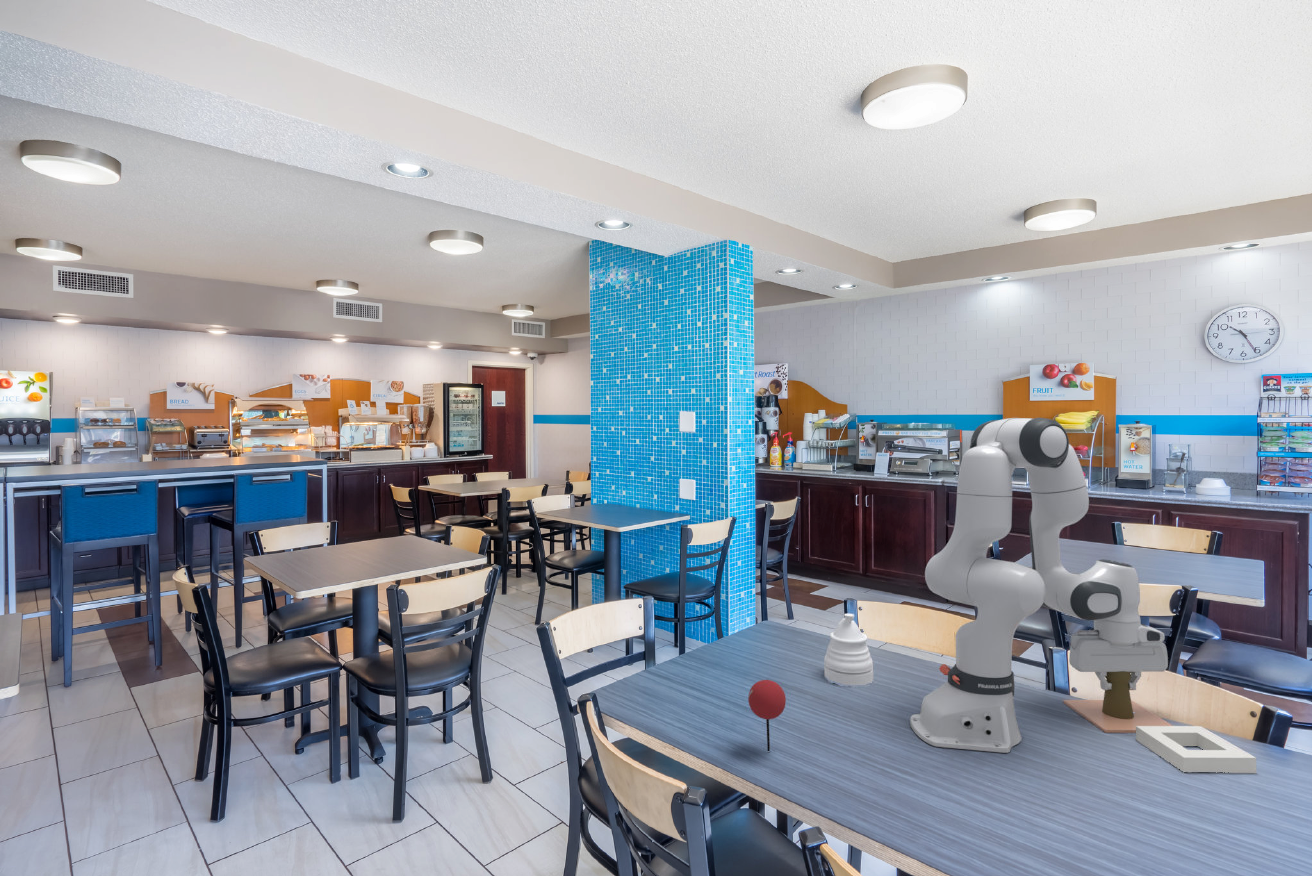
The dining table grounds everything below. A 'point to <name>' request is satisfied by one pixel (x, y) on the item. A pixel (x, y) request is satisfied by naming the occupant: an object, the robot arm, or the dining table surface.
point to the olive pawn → (1118, 696)
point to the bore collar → (1211, 759)
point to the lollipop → (767, 701)
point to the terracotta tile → (1110, 724)
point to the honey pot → (848, 655)
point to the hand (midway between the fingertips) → (1118, 689)
